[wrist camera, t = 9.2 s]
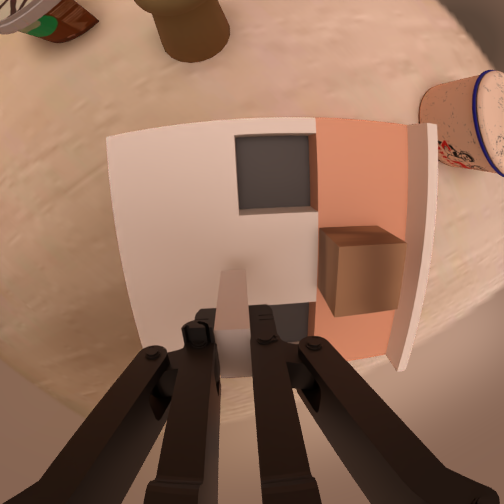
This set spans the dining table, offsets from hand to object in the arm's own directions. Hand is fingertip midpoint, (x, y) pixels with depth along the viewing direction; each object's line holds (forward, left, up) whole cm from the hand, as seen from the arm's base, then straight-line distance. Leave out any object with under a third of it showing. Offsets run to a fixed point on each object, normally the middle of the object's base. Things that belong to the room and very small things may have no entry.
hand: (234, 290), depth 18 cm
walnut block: (+9, 0, -5) cm, 10 cm away
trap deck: (+2, 0, -8) cm, 8 cm away
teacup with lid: (+23, +12, -8) cm, 28 cm away
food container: (-18, +26, -8) cm, 32 cm away
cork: (-3, +20, -8) cm, 22 cm away
